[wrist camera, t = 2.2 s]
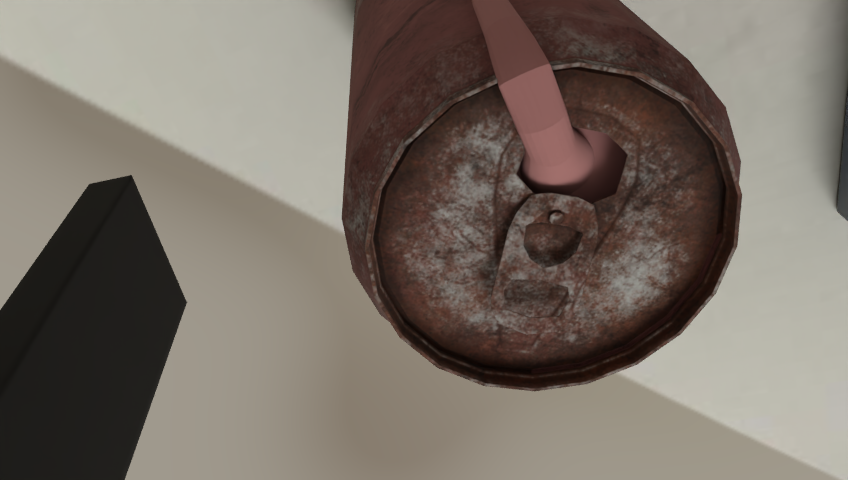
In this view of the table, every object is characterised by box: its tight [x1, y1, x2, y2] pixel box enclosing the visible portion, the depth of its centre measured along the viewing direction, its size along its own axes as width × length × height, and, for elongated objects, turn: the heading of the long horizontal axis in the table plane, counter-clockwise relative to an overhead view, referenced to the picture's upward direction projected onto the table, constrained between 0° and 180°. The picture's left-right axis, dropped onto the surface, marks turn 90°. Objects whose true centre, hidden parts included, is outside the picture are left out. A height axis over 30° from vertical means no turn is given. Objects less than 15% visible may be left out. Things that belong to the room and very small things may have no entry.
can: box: [342, 0, 742, 391], centre depth 17 cm, size 6×6×14 cm
